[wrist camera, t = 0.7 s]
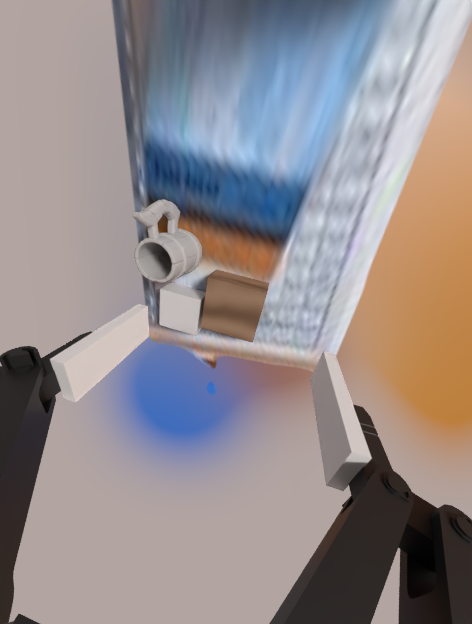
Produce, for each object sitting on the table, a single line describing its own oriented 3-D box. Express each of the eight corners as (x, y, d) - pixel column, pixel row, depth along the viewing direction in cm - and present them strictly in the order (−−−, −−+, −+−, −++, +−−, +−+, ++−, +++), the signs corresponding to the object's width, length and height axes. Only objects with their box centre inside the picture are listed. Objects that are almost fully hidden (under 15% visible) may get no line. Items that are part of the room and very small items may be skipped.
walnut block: (216, 269, 38) (207, 277, 33) (269, 283, 37) (266, 293, 32) (209, 315, 42) (200, 327, 38) (255, 328, 41) (252, 342, 37)
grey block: (170, 282, 41) (160, 288, 38) (208, 292, 40) (200, 300, 37) (169, 315, 45) (159, 324, 41) (203, 326, 44) (196, 335, 40)
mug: (168, 269, 40) (126, 290, 29) (158, 201, 35) (103, 196, 24) (205, 272, 39) (175, 294, 28) (201, 201, 33) (162, 196, 23)
